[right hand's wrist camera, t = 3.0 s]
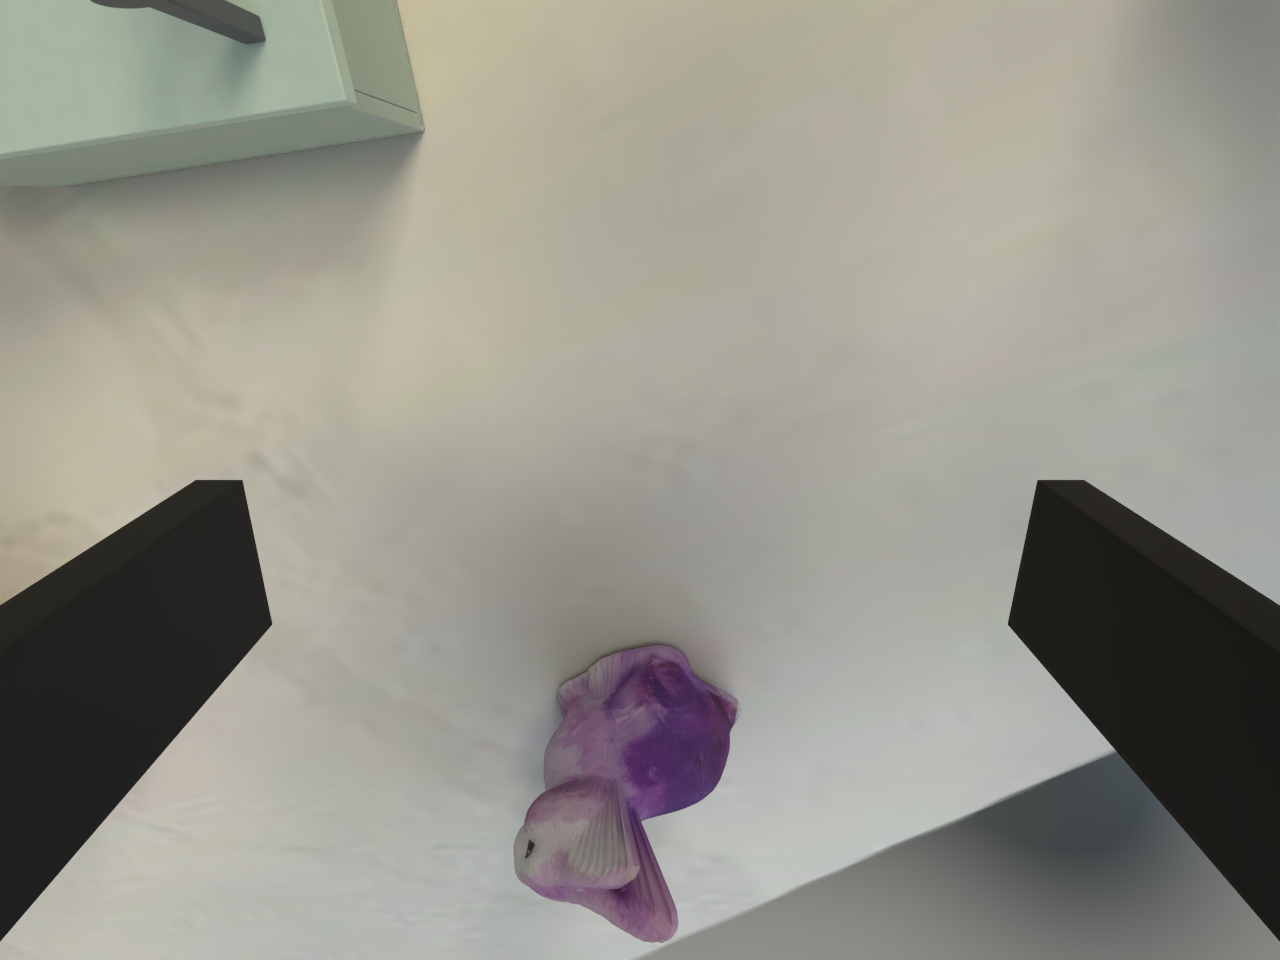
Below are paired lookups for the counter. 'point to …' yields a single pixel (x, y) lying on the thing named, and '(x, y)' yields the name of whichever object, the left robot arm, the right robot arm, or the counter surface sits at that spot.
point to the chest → (378, 114)
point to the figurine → (623, 784)
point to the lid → (160, 67)
